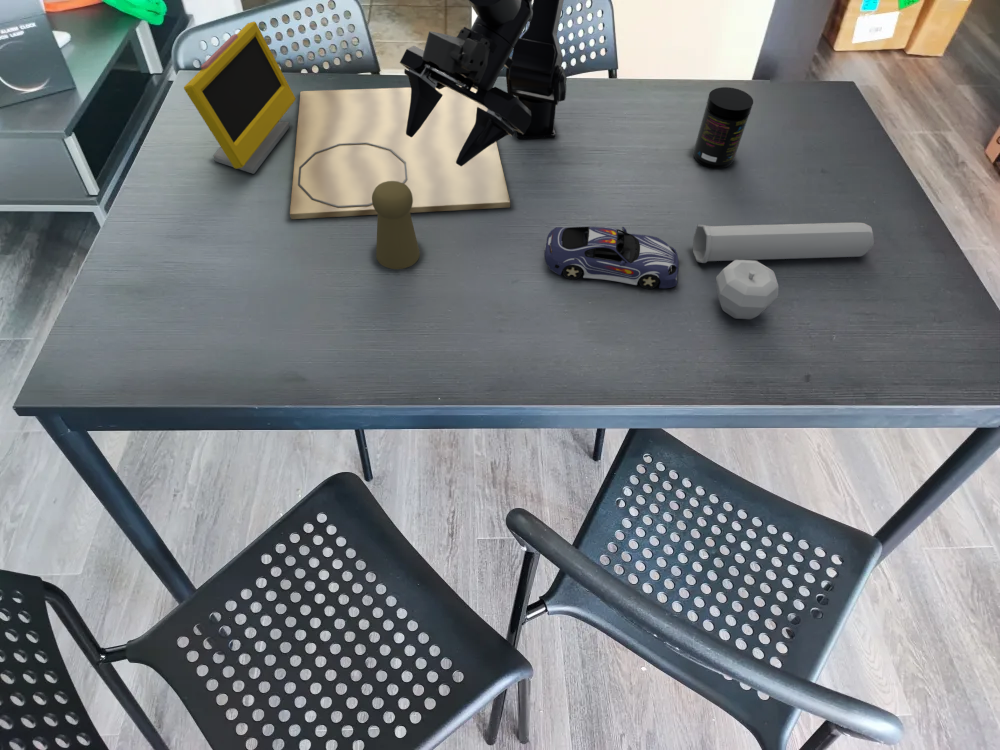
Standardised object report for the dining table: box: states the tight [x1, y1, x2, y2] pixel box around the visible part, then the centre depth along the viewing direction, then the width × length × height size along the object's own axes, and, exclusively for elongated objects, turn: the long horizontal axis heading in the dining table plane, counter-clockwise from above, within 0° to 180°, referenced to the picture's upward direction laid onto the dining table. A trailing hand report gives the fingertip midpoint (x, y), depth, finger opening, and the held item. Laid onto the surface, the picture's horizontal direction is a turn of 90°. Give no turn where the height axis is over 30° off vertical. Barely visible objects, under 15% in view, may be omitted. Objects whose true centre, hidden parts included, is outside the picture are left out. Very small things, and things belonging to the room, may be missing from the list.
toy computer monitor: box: [183, 21, 297, 174], centre depth 106 cm, size 20×8×16 cm, turn 168°
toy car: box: [543, 225, 680, 290], centre depth 96 cm, size 8×18×5 cm, turn 82°
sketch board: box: [289, 85, 511, 220], centre depth 113 cm, size 32×34×1 cm
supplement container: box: [692, 86, 754, 169], centre depth 111 cm, size 7×7×10 cm
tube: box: [692, 222, 875, 264], centre depth 98 cm, size 5×5×25 cm
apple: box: [715, 260, 779, 320], centre depth 90 cm, size 8×8×7 cm
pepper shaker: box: [372, 181, 421, 270], centre depth 93 cm, size 6×6×11 cm
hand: (433, 150), depth 91 cm, fingers open, 9 cm apart
